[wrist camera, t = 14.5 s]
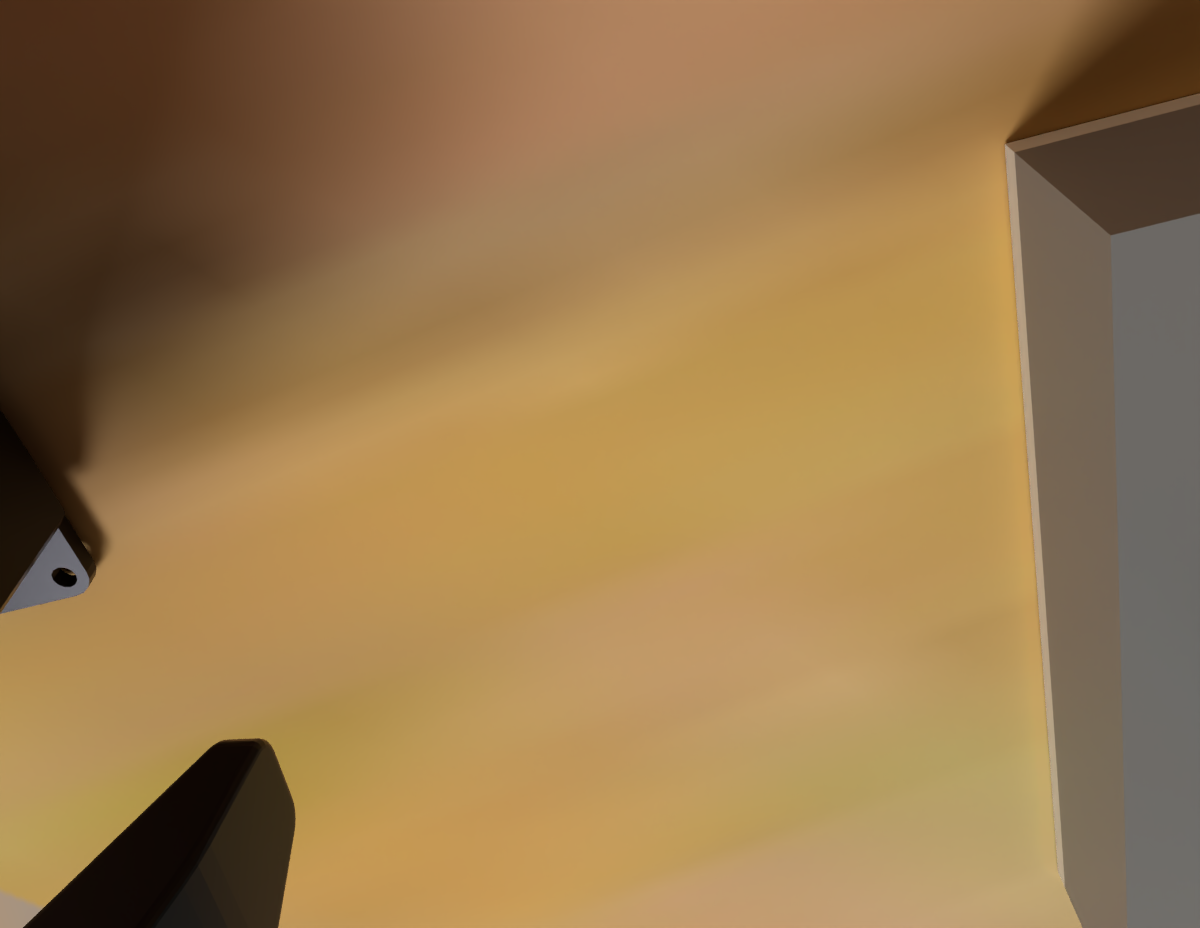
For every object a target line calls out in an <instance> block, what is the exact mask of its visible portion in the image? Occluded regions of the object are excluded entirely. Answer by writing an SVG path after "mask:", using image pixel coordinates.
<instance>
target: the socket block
mask: <svg viewBox="0 0 1200 928" xmlns="http://www.w3.org/2000/svg"><path fill="white" fill-rule="evenodd" d="M1005 155H1006V168H1007V182H1008V195H1009V209H1010V223H1011V236H1012V250H1013V264H1014V277H1015V291H1016V305H1017V318H1018V332H1019V346H1020V359H1021V373H1022V387H1023V400H1024V414H1025V428H1026V441H1027V455H1028V469H1029V482H1030V496H1031V510H1032V523H1033V537H1034V550H1035V564H1036V578H1037V591H1038V605H1039V619H1040V632H1041V646H1042V660H1043V673H1044V687H1045V701H1046V714H1047V728H1048V742H1049V755H1050V769H1051V783H1052V796H1053V810H1054V824H1055V837H1056V851H1057V864H1058V873H1059V875H1060V877H1061V880H1062V882H1063V884H1064V886H1065V889H1066V891H1067V893H1068V896H1069V898H1070V900H1071V902H1072V905H1073V907H1074V909H1075V911H1076V914H1077V916H1078V918H1079V920H1080V923H1081V925H1082V927H1083V928H1200V93H1199V94H1195V95H1191V96H1187V97H1183V98H1179V99H1176V100H1172V101H1168V102H1164V103H1160V104H1156V105H1153V106H1149V107H1145V108H1141V109H1137V110H1133V111H1129V112H1126V113H1122V114H1118V115H1114V116H1110V117H1106V118H1103V119H1099V120H1095V121H1091V122H1087V123H1083V124H1079V125H1076V126H1072V127H1068V128H1064V129H1060V130H1056V131H1053V132H1049V133H1045V134H1041V135H1037V136H1033V137H1029V138H1026V139H1022V140H1018V141H1014V142H1010V143H1006V144H1005Z"/></svg>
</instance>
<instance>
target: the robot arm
mask: <svg viewBox="0 0 1200 928" xmlns="http://www.w3.org/2000/svg"><path fill="white" fill-rule="evenodd" d="M64 514H65V512H64V509H63V507H62V506H61V504H60V503H59V501H58V499H57V498H56V496H55V495H54V493H53V491H52V490H51V488H50V487H49V485H48V483H47V482H46V480H45V479H44V477H43V476H42V474H41V472H40V471H39V469H38V468H37V466H36V464H35V463H34V461H33V460H32V458H31V456H30V455H29V453H28V452H27V450H26V449H25V447H24V445H23V444H22V442H21V441H20V439H19V437H18V436H17V434H16V433H15V431H14V430H13V428H12V426H11V425H10V423H9V422H8V420H7V418H6V417H5V415H4V414H3V413H2V412H1V411H0V614H1V613H5V612H10V611H14V610H18V609H22V608H27V607H31V606H35V605H39V604H43V603H48V602H52V601H56V600H60V599H65V598H69V597H73V596H77V595H79V594H81V593H84V592H85V590H86V589H87V588H88V587H89V585H90V583H91V582H92V580H93V578H94V577H95V574H96V566H95V563H94V560H93V559H92V557H91V556H90V554H89V553H88V551H87V549H86V548H85V546H84V545H83V543H82V541H81V540H80V538H79V537H78V535H77V534H76V532H75V530H74V529H73V527H72V526H71V524H70V522H69V521H68V519H67V518H66V516H65V515H64ZM61 568H67V569H69V570H72V571H73V572H74V573H75V574H76V575H69V574H67V573H65V572H64V571H63V570H62V569H61ZM294 831H295V808H294V802H293V799H292V796H291V794H290V791H289V788H288V786H287V783H286V781H285V778H284V775H283V773H282V770H281V768H280V765H279V762H278V760H277V757H276V755H275V752H274V750H273V748H272V746H271V745H270V744H269V743H268V742H267V741H266V740H264V739H260V738H257V739H233V740H223V741H220V742H218V743H216V744H215V745H213V746H212V747H211V748H209V749H208V750H207V751H206V752H205V753H204V754H203V755H202V756H201V757H200V758H199V759H198V760H197V761H196V762H195V763H194V764H193V765H192V766H191V767H190V768H189V769H188V770H187V771H186V772H184V773H183V774H182V775H181V776H180V777H179V778H178V779H177V780H176V781H175V782H174V783H173V784H172V785H171V786H170V787H169V788H168V789H167V790H166V791H165V792H164V793H163V794H162V795H161V796H159V797H158V798H157V799H156V800H155V801H154V802H153V803H152V804H151V805H150V806H149V807H148V808H147V809H146V810H145V811H144V812H143V813H142V814H141V815H140V816H139V817H138V818H137V819H136V820H135V821H133V822H132V823H131V824H130V825H129V826H128V827H127V828H126V829H125V830H124V831H123V832H122V833H121V834H120V835H119V836H118V837H117V838H116V839H115V840H114V841H113V842H112V843H111V844H110V845H109V846H107V847H106V848H105V849H104V850H103V851H102V852H101V853H100V854H99V855H98V856H97V857H96V858H95V859H94V860H93V861H92V862H91V863H90V864H89V865H88V866H87V867H86V868H85V869H84V870H83V871H81V872H80V873H79V874H78V875H77V876H76V877H75V878H74V879H73V880H72V881H71V882H70V883H69V884H68V885H67V886H66V887H65V888H64V889H63V890H62V891H61V892H60V893H59V894H58V895H57V896H55V897H54V898H53V899H52V900H51V901H50V902H49V903H48V904H47V905H46V906H45V907H44V908H43V909H42V910H41V911H40V912H39V913H38V914H37V915H36V916H35V917H34V918H33V919H32V920H31V921H29V923H27V924H26V925H25V926H24V927H23V928H278V926H279V920H280V914H281V908H282V902H283V896H284V891H285V885H286V879H287V873H288V867H289V861H290V855H291V849H292V843H293V837H294Z"/></svg>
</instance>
